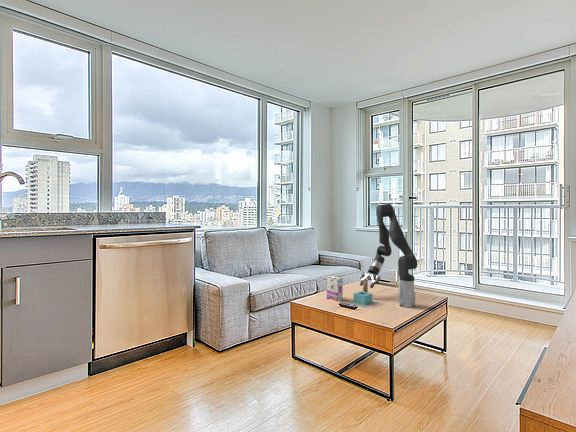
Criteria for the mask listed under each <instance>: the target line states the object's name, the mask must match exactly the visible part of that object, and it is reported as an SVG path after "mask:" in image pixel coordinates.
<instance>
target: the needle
mask: <svg viewBox="0 0 576 432" xmlns="http://www.w3.org/2000/svg"><path fill="white" fill-rule="evenodd" d="M368 281H369V280H367V278H366V279H363V285H362V287H363V289H362V291H364V292H368V290H369V289H368V287H369V286H368V284H369V282H368ZM368 293H369V292H368Z"/></svg>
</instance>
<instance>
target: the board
mask: <svg viewBox="0 0 576 432" xmlns="http://www.w3.org/2000/svg"><path fill="white" fill-rule="evenodd" d="M348 304H350V305H354V306H358V307H361V308H368V307H372V306H374V305H377V304H379V302H378V301H373V300H372V303H369V304H366V305H363V304H359V303H355V302H353V300H352V301H349V302H348Z"/></svg>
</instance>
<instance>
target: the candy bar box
mask: <svg viewBox="0 0 576 432" xmlns="http://www.w3.org/2000/svg"><path fill="white" fill-rule="evenodd" d="M343 282H344V281H343V277H339V276H334V275H328V276H326V300H333V301H335V302H341V301H343V297H344V296H343V295H344V294H343V288H344V287H343Z"/></svg>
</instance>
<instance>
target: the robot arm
mask: <svg viewBox="0 0 576 432" xmlns="http://www.w3.org/2000/svg"><path fill="white" fill-rule="evenodd" d="M396 215H397V214H396V212H395V210H394V207H393V205H392V204H391V203H386V204H379V205H377V206H376V219H377V224H378V232H379V234H378V236H379V241H378V242H379V244H381V245H378V247H377V249H376V253H375V257H374V259H373V261H372V262H371V264H370V265H369V268H368V269H367V273H365V272H362V274H361V276H360V277H359V279H360V282H359V285H360V287H363V279H367V280H368V281H372V282H371V284H370V286H369V288H370V289H373V288H374V287H375V285H378V284H379V283H380V280H381V276H380V275H379V273H380V271H381V270H382V268H383V265H384V262H385V257H390V256H391V255H392V246H391V242H392V243H393V244H394V246H395V247H397V248H398V249H399V250H400V251H401V252H402V254H403V255H401V256H399V257H398V260H397V265H398V266H397V268H398V278H399V285H398V287H399V289H398V290H399V291H398V292H399V295H398V296H399V299H398V304H399V306H400V307H404V308H409V309H410V308H413V307H415V306H416V291H415V276H414V275H413V274H410V272H409V271H410V270H415V269H417V268H418V260H417V257H416V256H415V254H414V253H413V250H412V249H411V247H410V245H409V243H408V241H407V239H406V237H405V234H404V232H403V230H402V227H401V225H400V222H399V220H398V218H397V216H396ZM387 217H388V218H389V221H390V223H389V228H387V226H386V224H385V222H384V218H387ZM390 240H391V242H390Z"/></svg>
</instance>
